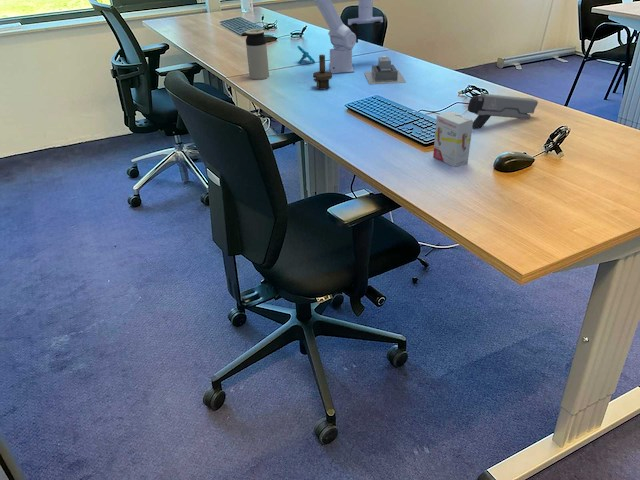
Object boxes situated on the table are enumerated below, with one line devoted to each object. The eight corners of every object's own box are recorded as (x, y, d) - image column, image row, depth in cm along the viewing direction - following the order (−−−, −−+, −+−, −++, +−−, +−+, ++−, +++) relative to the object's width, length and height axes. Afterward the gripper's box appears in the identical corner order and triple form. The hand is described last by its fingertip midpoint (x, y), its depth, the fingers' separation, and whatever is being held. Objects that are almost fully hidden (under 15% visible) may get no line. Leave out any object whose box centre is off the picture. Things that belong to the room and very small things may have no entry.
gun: (460, 125, 154) (470, 92, 150) (522, 129, 165) (534, 98, 160) (465, 128, 152) (475, 94, 148) (528, 132, 163) (539, 100, 158)
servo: (380, 79, 200) (381, 60, 196) (377, 73, 208) (377, 54, 204) (391, 79, 200) (391, 59, 196) (387, 72, 208) (387, 53, 205)
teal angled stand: (316, 61, 223) (299, 45, 220) (307, 72, 225) (290, 55, 222) (316, 59, 233) (299, 43, 231) (307, 69, 235) (290, 53, 232)
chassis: (369, 84, 198) (369, 74, 196) (364, 73, 211) (364, 64, 209) (405, 82, 198) (406, 72, 196) (398, 71, 211) (398, 62, 209)
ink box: (431, 156, 139) (435, 114, 132) (445, 152, 141) (450, 110, 134) (454, 167, 132) (459, 123, 126) (468, 163, 134) (474, 119, 128)
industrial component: (316, 91, 192) (314, 58, 186) (310, 86, 198) (308, 54, 192) (339, 88, 195) (339, 55, 188) (333, 83, 201) (332, 51, 194)
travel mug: (273, 76, 212) (269, 30, 202) (258, 81, 207) (253, 33, 197) (260, 73, 217) (255, 28, 207) (245, 77, 212) (240, 31, 202)
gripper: (350, 9, 206) (350, 45, 214) (385, 6, 208) (384, 42, 216) (346, 6, 212) (346, 41, 219) (380, 4, 214) (379, 38, 221)
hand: (365, 41), depth 218 cm, fingers open, 7 cm apart
